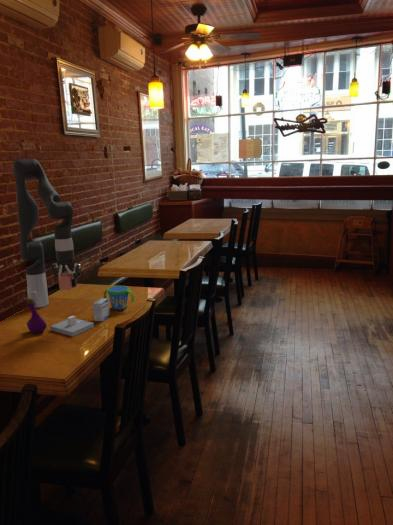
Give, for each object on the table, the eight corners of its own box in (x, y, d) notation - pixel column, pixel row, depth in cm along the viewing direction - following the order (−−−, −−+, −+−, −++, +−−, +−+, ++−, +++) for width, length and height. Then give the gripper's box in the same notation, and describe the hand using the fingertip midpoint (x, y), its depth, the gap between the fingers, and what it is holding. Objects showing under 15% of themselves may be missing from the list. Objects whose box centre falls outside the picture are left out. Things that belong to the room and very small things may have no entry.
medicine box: (103, 321, 196) (101, 303, 194) (94, 321, 197) (92, 303, 195) (110, 315, 204) (108, 298, 202) (101, 315, 205) (99, 297, 203)
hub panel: (51, 330, 187) (49, 318, 186) (72, 321, 197) (71, 310, 196) (72, 336, 180) (71, 324, 179) (94, 327, 190) (93, 315, 188)
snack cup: (138, 306, 216) (137, 286, 214) (127, 313, 207) (126, 292, 204) (111, 303, 222) (110, 284, 219) (100, 309, 212) (98, 290, 210)
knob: (59, 289, 186) (57, 273, 185) (67, 285, 192) (65, 270, 190) (69, 290, 185) (68, 273, 183) (77, 286, 190) (75, 270, 189)
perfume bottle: (29, 336, 182) (24, 295, 177) (27, 330, 188) (22, 291, 184) (47, 332, 185) (43, 292, 181) (45, 327, 191) (40, 288, 187)
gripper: (44, 250, 183) (49, 288, 187) (74, 250, 179) (78, 289, 183) (55, 247, 190) (59, 284, 194) (83, 247, 186) (87, 285, 190)
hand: (68, 286), depth 188 cm, fingers closed on knob, 5 cm apart
